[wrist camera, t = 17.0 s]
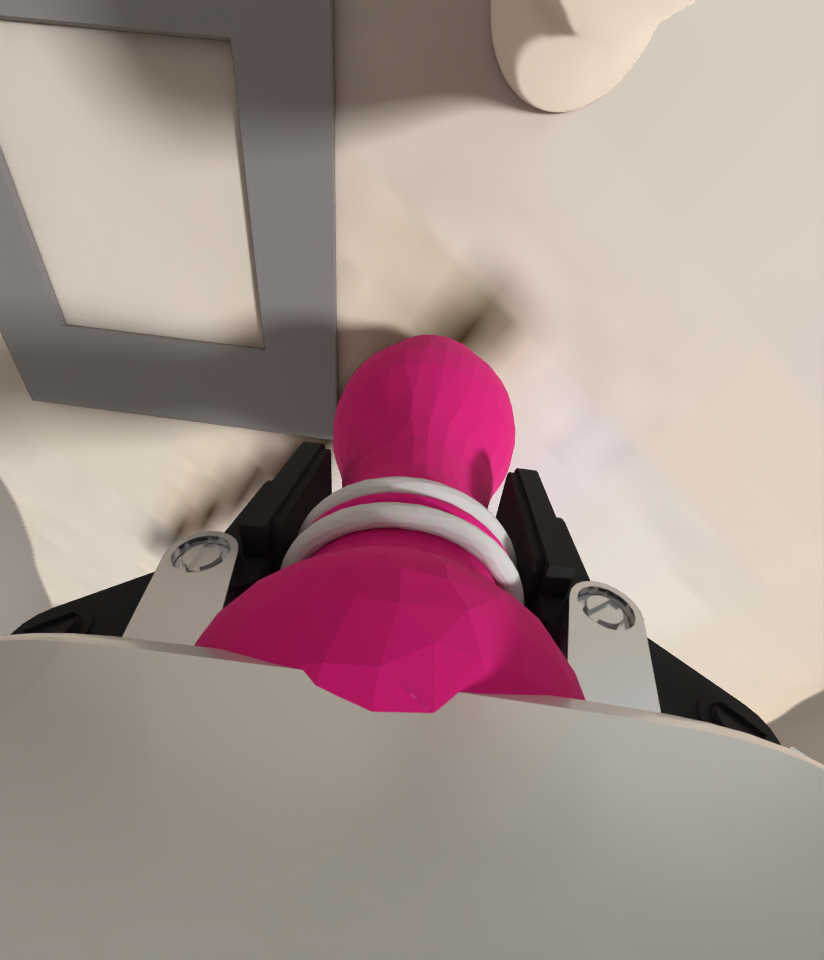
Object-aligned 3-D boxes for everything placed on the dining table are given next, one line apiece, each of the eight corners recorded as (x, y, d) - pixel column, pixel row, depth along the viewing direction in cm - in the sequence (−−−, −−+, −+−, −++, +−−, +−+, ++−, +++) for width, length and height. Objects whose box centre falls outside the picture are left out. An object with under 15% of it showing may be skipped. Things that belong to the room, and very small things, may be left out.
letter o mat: (337, 437, 24) (336, 440, 24) (38, 397, 25) (32, 400, 24) (331, -172, 12) (327, -185, 12) (-240, -215, 13) (-259, -227, 13)
